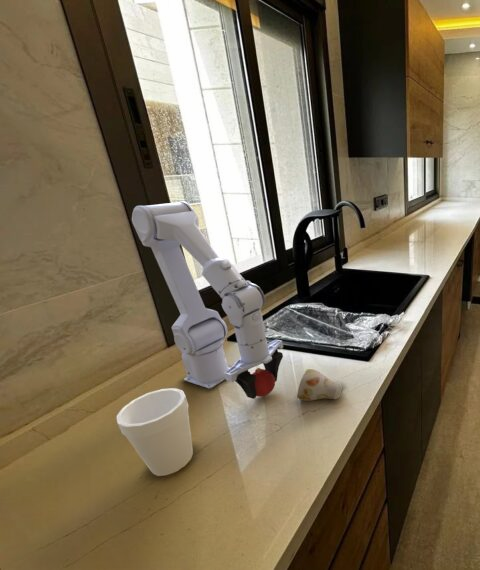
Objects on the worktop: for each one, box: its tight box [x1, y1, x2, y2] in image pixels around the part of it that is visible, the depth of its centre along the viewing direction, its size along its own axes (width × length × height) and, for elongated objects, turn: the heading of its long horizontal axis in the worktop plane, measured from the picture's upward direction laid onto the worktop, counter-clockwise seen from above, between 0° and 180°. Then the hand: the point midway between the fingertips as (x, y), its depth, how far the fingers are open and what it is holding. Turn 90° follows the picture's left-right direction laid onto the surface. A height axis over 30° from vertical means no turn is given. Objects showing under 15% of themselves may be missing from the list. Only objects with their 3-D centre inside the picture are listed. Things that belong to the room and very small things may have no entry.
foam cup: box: [116, 387, 194, 477], centre depth 59 cm, size 10×9×13 cm
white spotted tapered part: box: [296, 368, 343, 402], centre depth 77 cm, size 8×10×10 cm
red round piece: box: [252, 367, 276, 398], centre depth 77 cm, size 6×6×8 cm
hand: (262, 388), depth 77 cm, fingers closed on red round piece, 6 cm apart
